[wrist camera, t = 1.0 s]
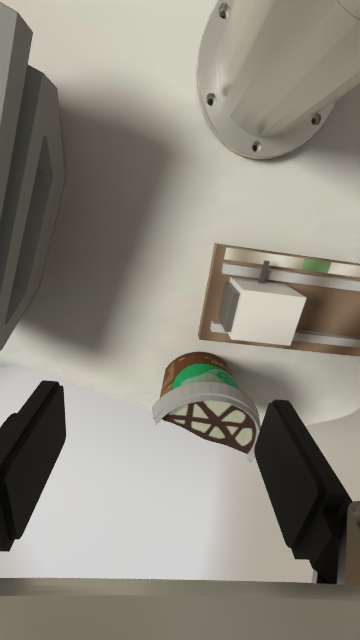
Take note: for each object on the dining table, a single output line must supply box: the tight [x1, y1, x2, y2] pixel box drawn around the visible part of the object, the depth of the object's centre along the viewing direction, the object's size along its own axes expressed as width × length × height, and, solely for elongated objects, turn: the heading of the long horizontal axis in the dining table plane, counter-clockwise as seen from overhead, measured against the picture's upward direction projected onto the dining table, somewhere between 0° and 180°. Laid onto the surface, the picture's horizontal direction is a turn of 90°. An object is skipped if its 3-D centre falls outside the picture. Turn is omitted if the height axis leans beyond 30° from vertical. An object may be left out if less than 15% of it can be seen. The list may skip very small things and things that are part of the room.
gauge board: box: [198, 244, 360, 356], centre depth 28 cm, size 24×11×6 cm, turn 82°
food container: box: [152, 352, 261, 462], centre depth 29 cm, size 12×6×10 cm, turn 60°
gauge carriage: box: [218, 260, 306, 346], centre depth 26 cm, size 7×7×5 cm
